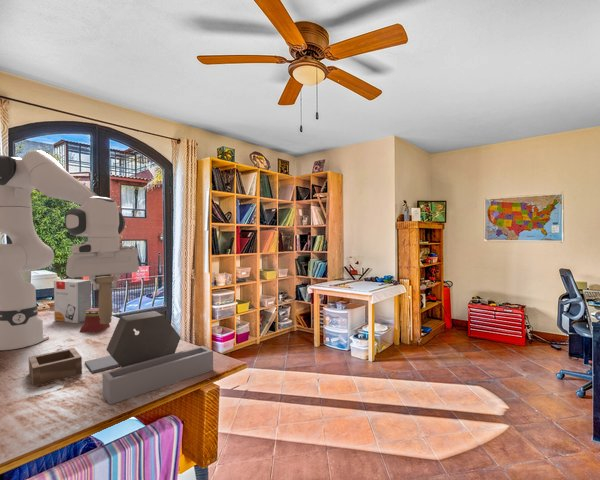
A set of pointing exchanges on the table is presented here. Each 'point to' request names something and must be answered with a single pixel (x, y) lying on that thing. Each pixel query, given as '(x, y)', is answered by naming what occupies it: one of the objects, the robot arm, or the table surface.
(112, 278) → the handle
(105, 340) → the table surface
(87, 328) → the red drawstring pouch
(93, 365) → the mat
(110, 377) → the tray
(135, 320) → the planter
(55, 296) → the hard drive box
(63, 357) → the block
